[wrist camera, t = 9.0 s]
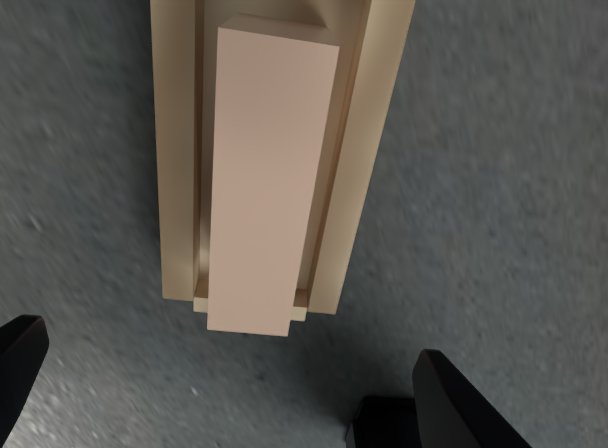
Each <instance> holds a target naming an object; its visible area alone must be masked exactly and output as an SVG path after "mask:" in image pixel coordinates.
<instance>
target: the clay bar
mask: <svg viewBox="0 0 608 448" xmlns="http://www.w3.org/2000/svg"><path fill="white" fill-rule="evenodd" d="M339 48H340V46H339V45H338V43H337V42H336V40H335V38H334V37H333V35H332V34H331V32H330V31H329V29H328V27H325V26H319V25H313V24H307V23H300V22H294V21H288V20H282V19H276V18H270V17H264V16H258V15H252V14H245V13H239V12H238V13H236V14H235V15H234V16H232V17H231V18H230V19H228V20H227V21H226V22H224V23H223V24H222V25H220V26H219V27H218V41H217V69H216V97H215V125H214V153H213V180H212V208H211V236H210V264H209V292H208V320H207V330H218V331H230V332H241V333H253V334H264V335H276V336H287V335H288V330H289V324H290V319H291V313H292V308H293V302H294V297H295V291H296V286H297V280H298V275H299V269H300V264H301V258H302V252H303V247H304V241H305V236H306V230H307V225H308V219H309V214H310V208H311V203H312V197H313V192H314V186H315V181H316V175H317V170H318V164H319V159H320V153H321V148H322V142H323V136H324V131H325V125H326V120H327V114H328V109H329V103H330V98H331V92H332V87H333V81H334V76H335V70H336V65H337V59H338V54H339Z"/></svg>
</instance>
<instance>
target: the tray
mask: <svg viewBox="0 0 608 448" xmlns="http://www.w3.org/2000/svg"><path fill="white" fill-rule="evenodd" d="M415 1H416V0H150V8H151V31H152V55H153V79H154V102H155V126H156V150H157V173H158V197H159V221H160V244H161V268H162V292H163V298H164V299H174V300H185V301H193V298H194V311H196V312H207V313H208V292H209V264H210V236H211V208H212V180H213V153H214V125H215V97H216V69H217V41H218V27H219V26H220V25H222V24H223V23H224V22H226V21H227V20H228V19H230V18H231V17H232V16H234V15H235V14H236V13H238V12H239V13H245V14H252V15H258V16H264V17H270V18H276V19H282V20H288V21H294V22H300V23H307V24H313V25H319V26H325V27H328V29H329V31H330V32H331V34H332V35H333V37H334V38H335V40H336V42H337V43H338V45H339V46H340V48H339V54H338V59H337V65H336V70H335V76H334V81H333V87H332V92H331V98H330V103H329V109H328V114H327V120H326V125H325V131H324V136H323V142H322V148H321V153H320V159H319V164H318V170H317V175H316V181H315V186H314V192H313V197H312V203H311V208H310V214H309V219H308V225H307V230H306V236H305V241H304V247H303V252H302V258H301V264H300V269H299V275H298V280H297V286H296V291H295V297H294V302H293V308H292V313H291V319H290V320H297V321H305V317H306V312H316V313H326V314H335V313H336V310H337V306H338V302H339V298H340V294H341V290H342V286H343V282H344V278H345V274H346V270H347V267H348V263H349V259H350V255H351V251H352V247H353V243H354V239H355V235H356V231H357V228H358V224H359V220H360V216H361V212H362V208H363V204H364V200H365V196H366V192H367V189H368V185H369V181H370V177H371V173H372V169H373V165H374V161H375V157H376V153H377V150H378V146H379V142H380V138H381V134H382V130H383V126H384V122H385V118H386V114H387V110H388V107H389V103H390V99H391V95H392V91H393V87H394V83H395V79H396V75H397V71H398V68H399V64H400V60H401V56H402V52H403V48H404V44H405V40H406V36H407V32H408V29H409V25H410V21H411V17H412V13H413V9H414V5H415Z"/></svg>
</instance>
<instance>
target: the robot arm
mask: <svg viewBox="0 0 608 448" xmlns="http://www.w3.org/2000/svg"><path fill="white" fill-rule="evenodd" d="M48 348H49V338H48V334H47V330H46V326H45V322H44V319H43V318H42V317H41V316H37V315H20V316H18V317H16V318H15V319H13V320H11V321H10V322H8V323H6V324H5V325H3V326H1V327H0V448H2V447H3V445H4V443H5V441H6V440H7V438H8V436H9V434H10V432H11V431H12V429H13V427H14V425H15V423H16V421H17V419H18V418H19V416H20V414H21V411H22V409H23V407H24V405H25V403H26V400H27V398H28V396H29V393H30V391H31V389H32V386H33V384H34V382H35V379H36V377H37V375H38V372H39V370H40V368H41V365H42V363H43V361H44V358H45V356H46V354H47V351H48ZM412 381H413V388H414V395H415V400H401V399H388V398H374V397H367V398H364V399H363V400H362V401H361V404H360V407H359V409H358V412H357V415H356V418H355V419H353V421H352V422H351V425H350V428H349V430H348V433H347V436H346V448H532V447H531V446H530V445H529V444H528V443H527V442H526V441H525V440H524V439H523V438H522V437H521V435H520V434H519V433H518V432H517V431H516V430H515V429H514V428H513V427H512V426H511V425H510V424H509V423H508V422H507V421H506V420H505V419H504V417H503V416H502V415H501V414H500V413H499V412H498V411H497V410H496V409H495V408H494V407H493V406H492V405H491V404H490V403H489V402H488V401H487V400H486V398H485V397H484V396H483V395H482V394H481V393H480V392H479V391H478V390H477V389H476V388H475V387H474V386H473V385H472V384H471V383H470V382H469V381H468V379H467V378H466V377H465V376H464V375H463V374H462V373H461V372H460V371H459V370H458V369H457V368H456V367H455V366H454V365H453V364H452V363H451V362H450V360H449V359H448V358H447V357H446V356H445V355H444V354H443V353H442V352H441V351H439V350H434V349H423V350H422V351H421V353H420V355H419V357H418V360H417V362H416V364H415V366H414V369H413V373H412Z"/></svg>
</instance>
